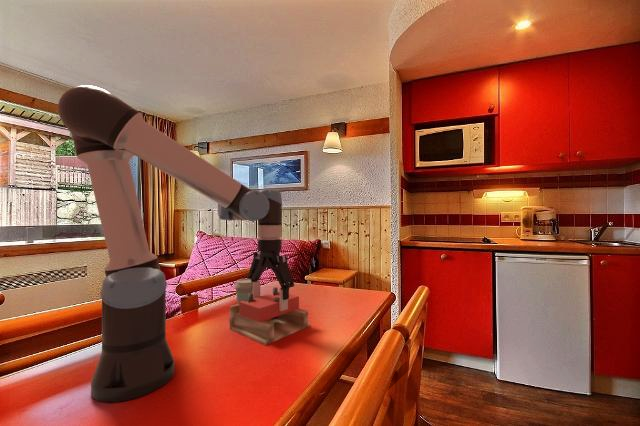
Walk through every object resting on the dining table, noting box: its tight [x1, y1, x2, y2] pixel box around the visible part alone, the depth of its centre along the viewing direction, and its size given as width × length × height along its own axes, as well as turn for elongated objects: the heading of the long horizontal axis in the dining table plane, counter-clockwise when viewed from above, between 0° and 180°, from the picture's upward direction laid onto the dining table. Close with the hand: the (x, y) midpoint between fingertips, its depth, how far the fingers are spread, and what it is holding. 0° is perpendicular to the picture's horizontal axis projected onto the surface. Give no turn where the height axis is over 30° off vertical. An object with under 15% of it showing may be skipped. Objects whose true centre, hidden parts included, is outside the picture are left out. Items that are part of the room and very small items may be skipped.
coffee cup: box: [234, 277, 252, 304], centre depth 105 cm, size 8×8×12 cm
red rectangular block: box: [239, 290, 300, 322], centre depth 92 cm, size 16×10×5 cm, turn 139°
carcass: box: [229, 286, 311, 346], centre depth 92 cm, size 18×18×11 cm
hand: (269, 305), depth 92 cm, fingers open, 13 cm apart
